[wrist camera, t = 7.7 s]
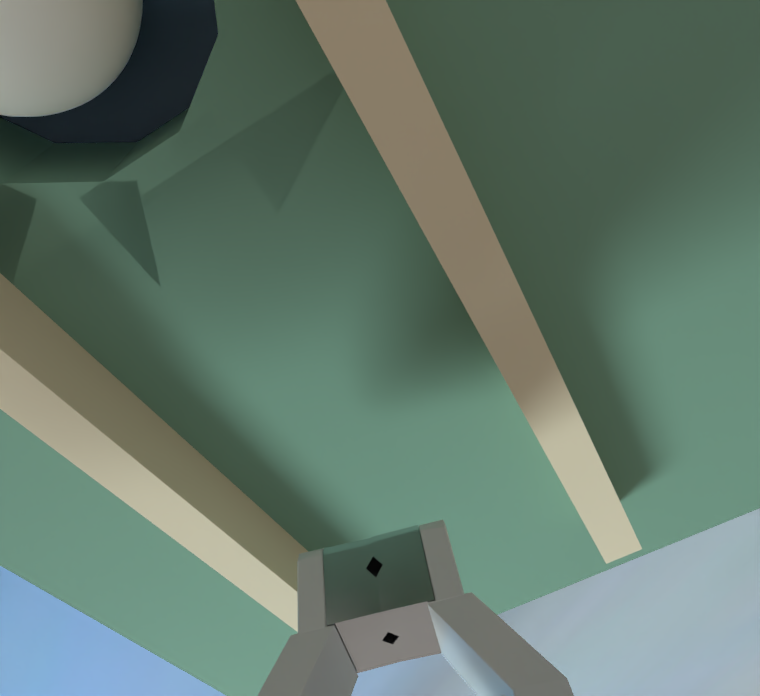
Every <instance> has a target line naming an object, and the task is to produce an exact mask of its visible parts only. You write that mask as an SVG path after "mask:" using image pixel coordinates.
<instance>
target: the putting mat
mask: <svg viewBox="0 0 760 696" xmlns="http://www.w3.org/2000/svg"><path fill="white" fill-rule="evenodd" d="M214 4H215V12H216V20H217V28H218V36H217V39H216V41H215V44H214V46H213V49H212V52H211V54H210V57H209V59H208V62H207V64H206V67H205V69H204V72H203V74H202V77H201V79H200V82H199V84H198V87H197V89H196V92H195V94H194V97H193V99H192V102H191V105H190V107H189V108H188V109H186V110H185V111H183V112H182V113H180V114H179V115H177V116H176V117H174V118H173V119H171V120H170V121H168V122H167V123H165V124H164V125H162V126H161V127H159V128H158V129H156V130H155V131H153V132H152V133H150V134H149V135H147V136H146V137H144V138H143V139H141V140H140V141H138V142H99V143H53V142H51V141H49V140H47V139H45V138H43V137H41V136H39V135H37V134H34V133H32V132H30V131H28V130H26V129H24V128H22V127H20V126H17V125H15V124H13V123H11V122H9V121H7V120H5V119H3V118H1V117H0V566H2V567H4V568H5V569H7V570H9V571H11V572H12V573H14V574H16V575H18V576H19V577H21V578H23V579H25V580H26V581H28V582H30V583H32V584H33V585H35V586H37V587H39V588H40V589H42V590H44V591H46V592H47V593H49V594H51V595H53V596H54V597H56V598H58V599H59V600H61V601H63V602H65V603H66V604H68V605H70V606H72V607H73V608H75V609H77V610H79V611H80V612H82V613H84V614H86V615H87V616H89V617H91V618H93V619H94V620H96V621H98V622H100V623H101V624H103V625H105V626H106V627H108V628H110V629H112V630H113V631H115V632H117V633H119V634H120V635H122V636H124V637H126V638H127V639H129V640H131V641H133V642H134V643H136V644H138V645H140V646H141V647H143V648H145V649H147V650H148V651H150V652H152V653H154V654H155V655H157V656H159V657H160V658H162V659H164V660H166V661H167V662H169V663H171V664H173V665H174V666H176V667H178V668H180V669H181V670H183V671H185V672H187V673H188V674H190V675H192V676H194V677H195V678H197V679H199V680H201V681H202V682H204V683H206V684H207V685H209V686H211V687H213V688H214V689H216V690H218V691H220V692H221V693H223V694H225V695H227V696H257V695H258V694H259V692H260V690H261V688H262V686H263V685H264V683H265V681H266V679H267V677H268V675H269V674H270V672H271V670H272V668H273V666H274V665H275V663H276V661H277V659H278V657H279V655H280V654H281V652H282V650H283V648H284V646H285V645H286V643H287V641H288V639H289V637H290V636H291V635H294V634H297V633H298V601H297V561H298V557H299V554H301V553H305V552H309V551H313V550H317V549H322V548H327V547H331V546H336V545H340V544H345V543H350V542H354V541H359V540H363V539H368V538H371V537H373V536H376V535H380V534H384V533H388V532H392V531H396V530H400V529H404V528H408V527H411V526H415V525H418V526H419V525H423V524H427V523H430V522H434V521H438V520H442V519H443V521H444V523H445V525H446V529H447V532H448V536H449V540H450V543H451V547H452V551H453V554H454V558H455V562H456V565H457V569H458V573H459V576H460V580H461V584H462V587H463V591H464V594H465V593H470V592H472V593H473V594H474V595H475V596H476V597H478V598H479V599H480V600H481V601H482V602H483V603H484V604H485V605H486V606H487V607H489V608H490V609H491V610H492V611H493V612H494V613H495V614H496V615H497V614H500V613H502V612H505V611H507V610H510V609H512V608H515V607H517V606H520V605H522V604H525V603H527V602H530V601H532V600H534V599H537V598H539V597H542V596H544V595H547V594H549V593H552V592H554V591H557V590H559V589H562V588H564V587H566V586H569V585H571V584H574V583H576V582H579V581H581V580H584V579H586V578H589V577H591V576H594V575H596V574H598V573H601V572H603V571H606V570H608V569H611V568H613V567H616V566H618V565H621V564H623V563H626V562H628V561H630V560H633V559H635V558H638V557H640V556H643V555H645V554H648V553H650V552H653V551H655V550H658V549H660V548H662V547H665V546H667V545H670V544H672V543H675V542H677V541H680V540H682V539H685V538H687V537H690V536H692V535H695V534H697V533H699V532H702V531H704V530H707V529H709V528H712V527H714V526H717V525H719V524H722V523H724V522H727V521H729V520H731V519H734V518H736V517H739V516H741V515H744V514H746V513H749V512H751V511H754V510H756V509H759V508H760V0H214ZM419 530H420V529H419Z"/></svg>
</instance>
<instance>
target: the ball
mask: <svg viewBox="0 0 760 696" xmlns="http://www.w3.org/2000/svg"><path fill="white" fill-rule="evenodd" d="M142 12H143V0H0V115H4V116H11V117H38V116H47V115H52V114H57V113H61V112H64V111H67V110H71V109H73V108H76V107H78V106H81V105H83V104H85V103H87V102H88V101H90V100H92V99H93V98H95V97H96V96H98V95H99V94H101V93H102V92H103V91H104V90H105V89H107V88H108V87H109V86H110V85H111V84H112V83H113V81H114V80H115V79H116V78H117V77H118V76H119V74H120V73H121V72H122V71H123V69H124V68H125V66H126V64H127V63H128V61H129V59H130V56H131V54H132V52H133V50H134V47H135V45H136V42H137V39H138V36H139V31H140V26H141V20H142Z"/></svg>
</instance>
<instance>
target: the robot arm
mask: <svg viewBox="0 0 760 696" xmlns="http://www.w3.org/2000/svg"><path fill="white" fill-rule="evenodd" d="M419 529H420V530H419ZM297 601H298V633H297V634H294V635H291V636H290V637H289V639H288V641H287V643H286V645H285V646H284V648H283V650H282V652H281V654H280V655H279V657H278V659H277V661H276V663H275V665H274V666H273V668H272V670H271V672H270V674H269V675H268V677H267V679H266V681H265V683H264V685H263V686H262V688H261V690H260V692H259V694H258V695H257V696H351V694H352V691H353V688H354V686H355V683H356V680H357V678H358V675H357V673H359V672H363V671H367V670H371V669H374V668H378V667H382V666H386V665H389V664H393V663H397V662H401V661H406V660H410V659H415V658H420V657H425V656H430V655H434V654H439V653H442V656H443V657H444V658H445V659H446V660H447V661H448V663H449V664H450V665H451V666H452V667H453V668H454V670H455V671H456V672H457V673H458V674H459V675H460V677H461V678H462V679H463V680H464V681H465V682H466V683H467V685H468V686H469V687H470V688H471V689H472V690H473V692H474V693H475V694H476V695H477V696H574V695H573V693H572V690H571V687H570V685H569V682H568V680H567V678H566V677H565V676H564V675H563V674H562V673H560V672H559V671H558V670H557V669H556V668H555V667H554V666H553V665H552V664H551V663H549V662H548V661H547V660H546V659H545V658H544V657H543V656H542V655H541V654H539V653H538V652H537V651H536V650H535V649H534V648H533V647H532V646H531V645H530V644H528V643H527V642H526V641H525V640H524V639H523V638H522V637H521V636H520V635H518V634H517V633H516V632H515V631H514V630H513V629H512V628H511V627H510V626H508V625H507V624H506V623H505V622H504V621H503V620H502V619H501V618H500V617H499V616H497V615H496V614H495V613H494V612H493V611H492V610H491V609H490V608H489V607H487V606H486V605H485V604H484V603H483V602H482V601H481V600H480V599H479V598H478V597H476V596H475V595H474V594H473V593H472V592H470V593H465V594H464V591H463V587H462V584H461V580H460V576H459V573H458V569H457V565H456V562H455V558H454V554H453V551H452V547H451V543H450V540H449V536H448V532H447V529H446V525H445V523H444V521H443V519H442V520H438V521H434V522H430V523H427V524H423V525H419V526H418V525H415V526H411V527H408V528H404V529H400V530H396V531H392V532H388V533H384V534H380V535H376V536H373V537H371V538H368V539H363V540H359V541H354V542H350V543H345V544H340V545H336V546H331V547H327V548H322V549H317V550H313V551H309V552H305V553H301V554H299V557H298V561H297Z"/></svg>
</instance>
